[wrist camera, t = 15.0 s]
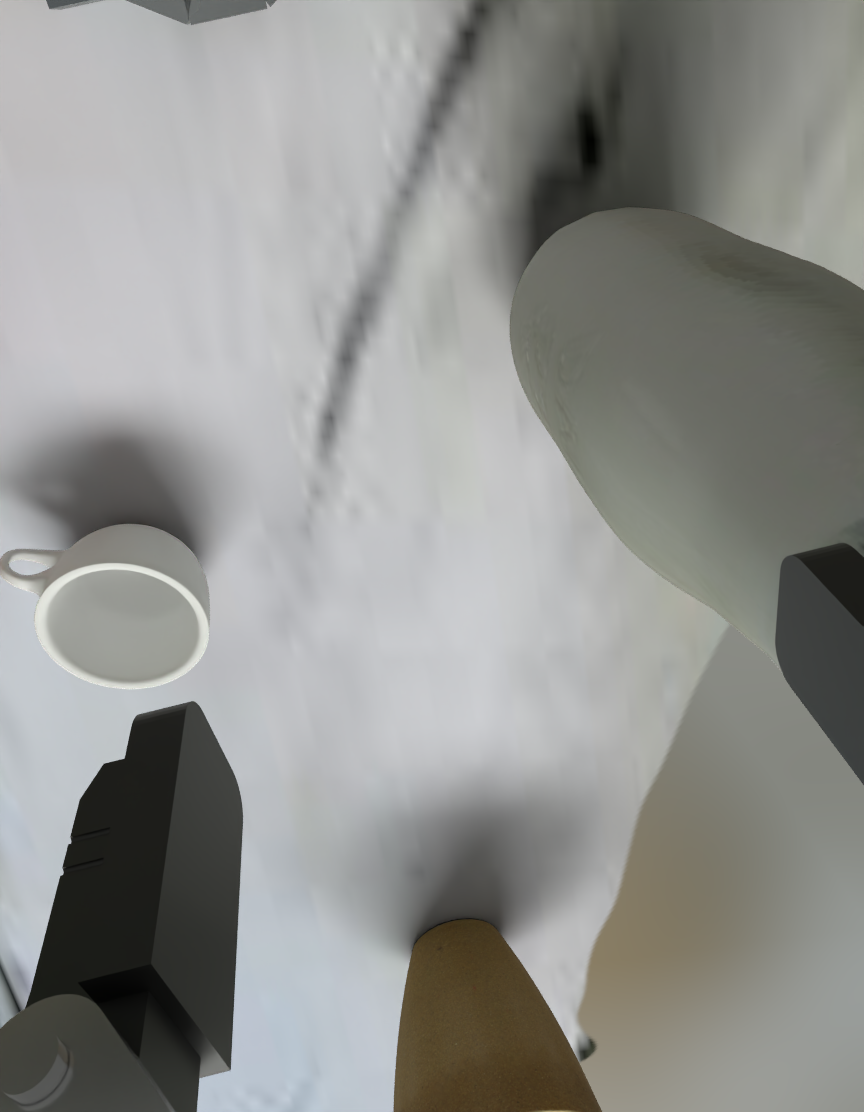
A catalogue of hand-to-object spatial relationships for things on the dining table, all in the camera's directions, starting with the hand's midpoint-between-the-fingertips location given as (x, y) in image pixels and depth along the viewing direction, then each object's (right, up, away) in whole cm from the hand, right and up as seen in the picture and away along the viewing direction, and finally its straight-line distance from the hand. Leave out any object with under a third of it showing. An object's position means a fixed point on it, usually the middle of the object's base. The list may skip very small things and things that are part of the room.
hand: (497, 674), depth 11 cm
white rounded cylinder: (+6, +14, +28) cm, 32 cm away
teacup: (-17, +2, +32) cm, 36 cm away
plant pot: (+1, -30, +56) cm, 64 cm away
